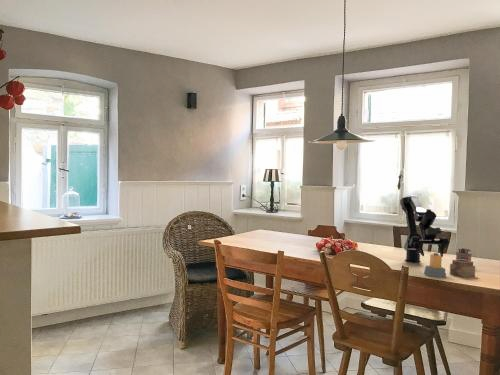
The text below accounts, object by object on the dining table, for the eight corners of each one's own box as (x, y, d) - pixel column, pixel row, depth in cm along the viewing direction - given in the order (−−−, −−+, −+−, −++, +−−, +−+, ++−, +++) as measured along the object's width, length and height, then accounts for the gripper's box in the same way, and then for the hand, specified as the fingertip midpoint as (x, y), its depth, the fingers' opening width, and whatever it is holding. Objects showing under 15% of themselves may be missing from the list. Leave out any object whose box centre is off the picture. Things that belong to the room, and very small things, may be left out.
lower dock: (424, 273, 220) (424, 265, 220) (439, 273, 220) (440, 265, 220) (429, 276, 213) (430, 268, 213) (445, 277, 213) (446, 269, 212)
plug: (429, 270, 218) (430, 252, 218) (437, 270, 218) (438, 252, 218) (432, 271, 214) (433, 254, 214) (441, 272, 214) (441, 254, 214)
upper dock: (449, 273, 221) (450, 259, 221) (461, 272, 225) (461, 258, 224) (463, 277, 214) (463, 262, 214) (474, 276, 217) (475, 262, 217)
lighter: (454, 265, 242) (455, 247, 242) (456, 264, 244) (457, 246, 244) (469, 268, 236) (470, 249, 236) (472, 267, 239) (473, 248, 238)
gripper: (412, 221, 225) (418, 246, 214) (449, 222, 224) (457, 247, 214) (406, 233, 233) (412, 258, 223) (442, 235, 232) (449, 260, 222)
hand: (432, 256), depth 220 cm, fingers open, 9 cm apart
